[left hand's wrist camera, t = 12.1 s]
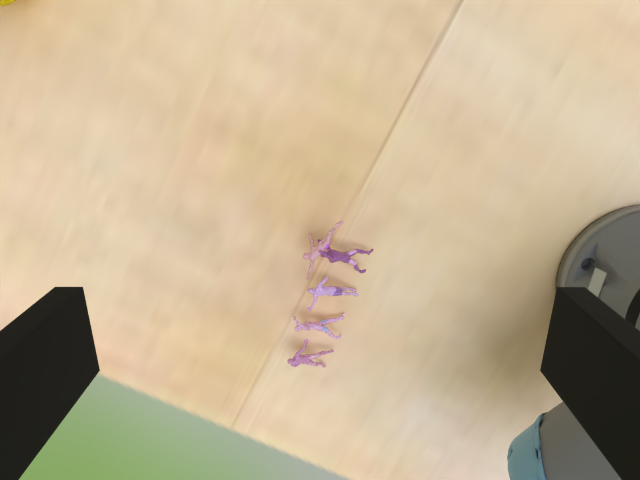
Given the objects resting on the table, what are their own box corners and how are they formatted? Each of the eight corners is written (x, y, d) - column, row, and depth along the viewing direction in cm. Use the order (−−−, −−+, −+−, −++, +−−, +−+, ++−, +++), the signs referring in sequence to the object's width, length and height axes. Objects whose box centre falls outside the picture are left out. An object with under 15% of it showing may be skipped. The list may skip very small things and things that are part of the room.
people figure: (333, 385, 49) (269, 381, 45) (316, 350, 53) (256, 345, 50) (403, 239, 43) (335, 222, 39) (376, 215, 48) (313, 198, 44)
